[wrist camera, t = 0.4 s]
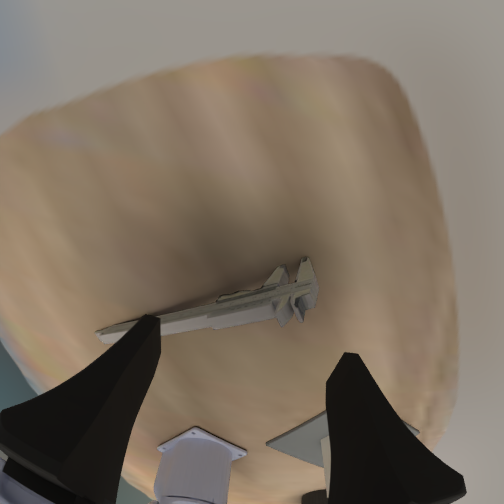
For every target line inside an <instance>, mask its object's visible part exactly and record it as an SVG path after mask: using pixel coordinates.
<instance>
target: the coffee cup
mask: <svg viewBox="0 0 504 504" xmlns="http://www.w3.org/2000/svg"><path fill="white" fill-rule="evenodd" d="M301 504H328V497H327V491H326V490H318V491H313V492H310V493H307V494H305V495H303V496H302V503H301Z"/></svg>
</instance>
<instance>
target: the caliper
mask: <svg viewBox="0 0 504 504" xmlns="http://www.w3.org/2000/svg"><path fill="white" fill-rule="evenodd" d="M288 278H289V273H288V271H287V269H286V266H285V264H284V265H281V266H278V267H277V268H276V270H275V271H274V272H273V273H272V275H271V276H270V277H269V278H268V280H267V281H266V282H265V283H264V285H263V286H262V287H261V288H260V289H257V290H253V291H251V290H243V291H237V292H235V293H232V294H225V295H221V296H219V297H218V299H217V301H216V302H215V303H211V304H207V305H202V306H198V307H194V308H190V309H185V310H181V311H177V312H172V313H168V314H164V315H159V316H155V317H159V318H161V336H163V335H169V334H175V333H181V332H187V331H192V330H197V329H203V328H208V327H212V328H213V330H217V329H222V328H228V327H233V326H238V325H244V324H249V323H254V322H259V321H263V320H268V319H273V318H277V320H278V322H279V324H280V326H281V327H283V326H284V325H285V324H286V323H287V322H288V321H289V320H290V319H291V317H292V316H293V314H294V312H295V314H296V317H297V319H298V320H299V321H300V322H301V323H303V321H304V315H305V310H308V309H311V308H315V305H316V301H317V296H318V291H319V286H318V282H317V279H316V276H315V273H314V270H313V267H312V265H311V262H310V260H309V257H303V258H302V259H301V263H300V267H299V270H298V273H297V276H296V280H295V283H291V284H288V282H289V279H288ZM137 321H138V320H136V321H131V322H126V323H121V324H116V325H113V326H110V327H107V328H105V329H104V330H99V331H96V332H95V334H96V336H97V337H98V338H99V340H100V341H103V343H104V344H109V343H116V342H117V341H118V340H119V339H120V338H121V337H122V336H123V335H124V334H125V333H126V332H128V331H129V330H130V329H131V328H132V327H133V326H134V325H135V323H136V322H137Z"/></svg>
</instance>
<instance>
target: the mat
mask: <svg viewBox="0 0 504 504" xmlns="http://www.w3.org/2000/svg"><path fill="white" fill-rule="evenodd" d="M403 422H404V421H403ZM404 424H405V425H406V426H407V427H408V428H409V430H410V431H411V432H412V433H413V434H414V435H415V436H416V435H418V434H419V433H420V432H419V431H418V430H417V429H415V428H413V427H412V426H410V425H409V424H407V423H406V422H404ZM327 436H329V431H328V422H327V412H326V411H324V412H322V413H321V414H319V415H317V416H315V417H314V418H312V419H310V420H308V421H307V422H305V423H303V424H301V425H299V426H298V427H296V428H294V429H292V430H290V431H288V432H286V433H284V434H282V435H280V436H279V437H277V438H275V439H273V440H270V441H268V442H266V446H269V447H271V448H273V449H276V450H278V451H280V452H283V453H285V454H288V455H290V456H293V457H295V458H298V459H301V460H303V461H306V462H309V463H311V464H314V465H317V466H320V467H323V468H324V464H323V455H322V447H321V439H323V438H325V437H327Z"/></svg>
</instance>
